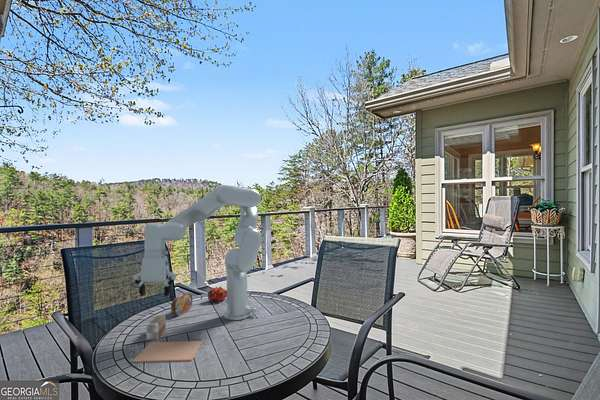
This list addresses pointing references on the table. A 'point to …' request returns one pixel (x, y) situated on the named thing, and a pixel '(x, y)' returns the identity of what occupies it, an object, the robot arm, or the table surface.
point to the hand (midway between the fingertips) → (154, 295)
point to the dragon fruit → (217, 294)
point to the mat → (169, 351)
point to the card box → (156, 327)
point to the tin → (181, 304)
